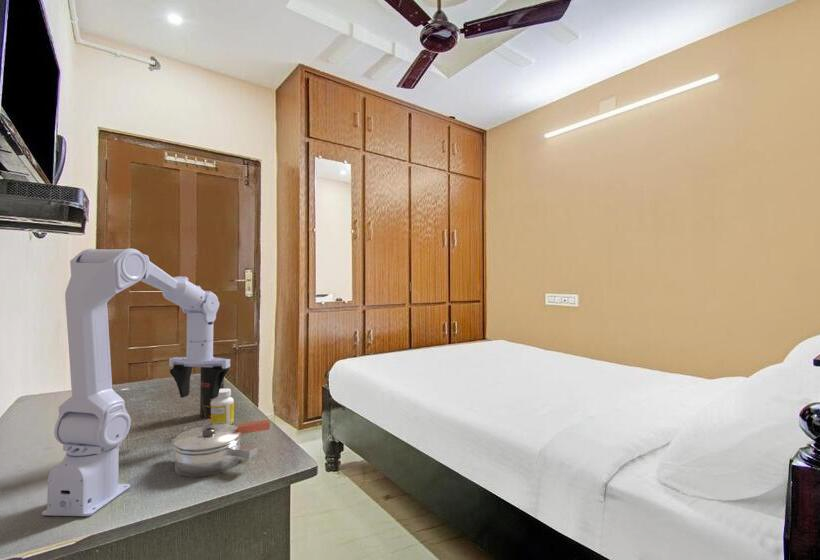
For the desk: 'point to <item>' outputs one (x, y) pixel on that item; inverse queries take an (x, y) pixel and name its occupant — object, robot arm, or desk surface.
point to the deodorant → (206, 393)
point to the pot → (210, 459)
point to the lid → (216, 435)
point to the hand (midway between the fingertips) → (199, 396)
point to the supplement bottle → (222, 408)
